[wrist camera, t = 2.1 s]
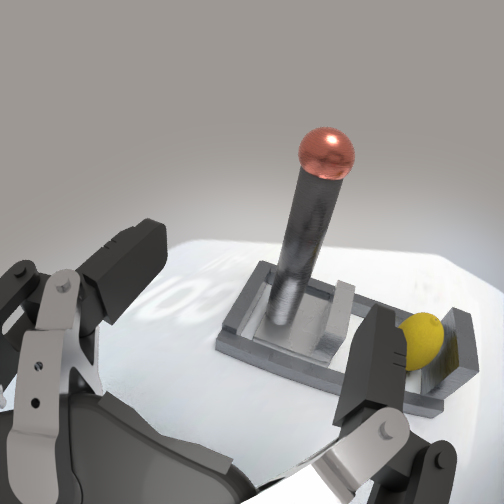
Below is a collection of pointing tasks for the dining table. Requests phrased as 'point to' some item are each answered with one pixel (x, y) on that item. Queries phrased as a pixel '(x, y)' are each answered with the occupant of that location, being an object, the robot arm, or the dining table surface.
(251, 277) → the frame
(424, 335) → the lemon
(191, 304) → the dining table surface
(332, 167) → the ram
